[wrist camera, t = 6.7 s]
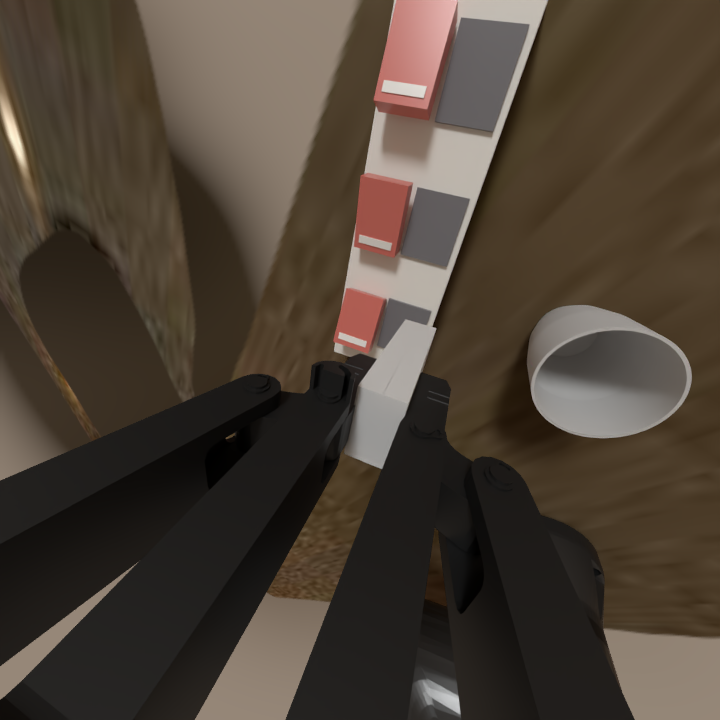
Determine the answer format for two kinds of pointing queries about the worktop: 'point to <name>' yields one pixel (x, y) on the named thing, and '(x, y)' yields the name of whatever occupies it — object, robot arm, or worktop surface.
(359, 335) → the rocker
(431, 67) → the block
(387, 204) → the plate
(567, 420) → the cup
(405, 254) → the power strip
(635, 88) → the worktop surface
